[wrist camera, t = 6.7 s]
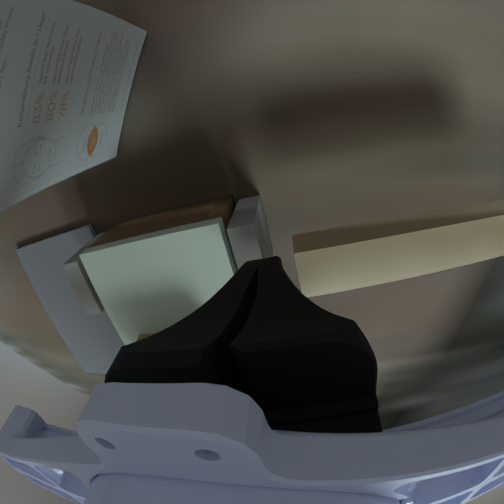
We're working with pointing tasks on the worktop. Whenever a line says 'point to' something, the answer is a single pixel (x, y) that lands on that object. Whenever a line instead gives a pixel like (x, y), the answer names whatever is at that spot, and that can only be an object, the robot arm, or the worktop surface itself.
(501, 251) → the beige rectangular bar
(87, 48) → the small box
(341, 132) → the worktop surface
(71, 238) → the mat
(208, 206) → the open brown box
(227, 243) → the mint green slab
